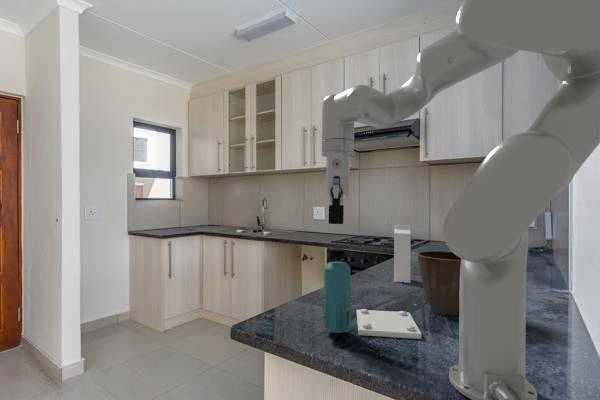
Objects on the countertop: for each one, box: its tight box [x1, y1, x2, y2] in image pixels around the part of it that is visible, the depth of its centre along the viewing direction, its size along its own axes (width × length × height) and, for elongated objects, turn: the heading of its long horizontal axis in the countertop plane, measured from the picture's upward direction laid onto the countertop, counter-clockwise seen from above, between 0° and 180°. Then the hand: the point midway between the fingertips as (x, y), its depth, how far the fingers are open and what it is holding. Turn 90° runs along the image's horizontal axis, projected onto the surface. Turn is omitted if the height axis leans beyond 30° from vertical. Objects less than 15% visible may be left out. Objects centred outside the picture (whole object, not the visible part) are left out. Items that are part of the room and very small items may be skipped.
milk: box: [393, 223, 412, 284], centre depth 125 cm, size 6×6×22 cm
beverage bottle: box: [323, 247, 352, 334], centre depth 75 cm, size 6×7×20 cm
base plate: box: [356, 308, 422, 340], centre depth 80 cm, size 14×14×2 cm
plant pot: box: [417, 250, 461, 317], centre depth 91 cm, size 15×15×16 cm
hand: (336, 222), depth 75 cm, fingers open, 9 cm apart
